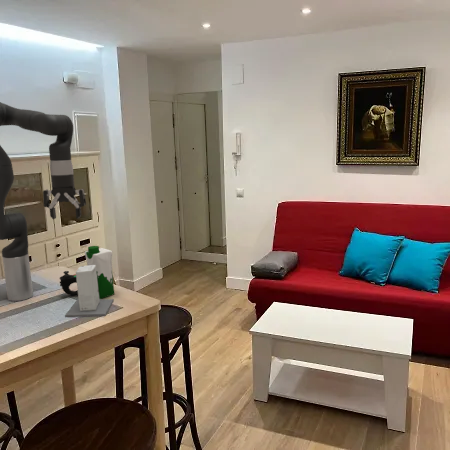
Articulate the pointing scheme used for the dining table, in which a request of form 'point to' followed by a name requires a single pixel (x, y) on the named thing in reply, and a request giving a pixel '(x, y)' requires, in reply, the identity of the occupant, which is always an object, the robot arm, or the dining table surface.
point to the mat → (100, 311)
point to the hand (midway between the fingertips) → (66, 218)
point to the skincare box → (87, 288)
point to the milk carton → (102, 269)
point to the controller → (68, 283)
